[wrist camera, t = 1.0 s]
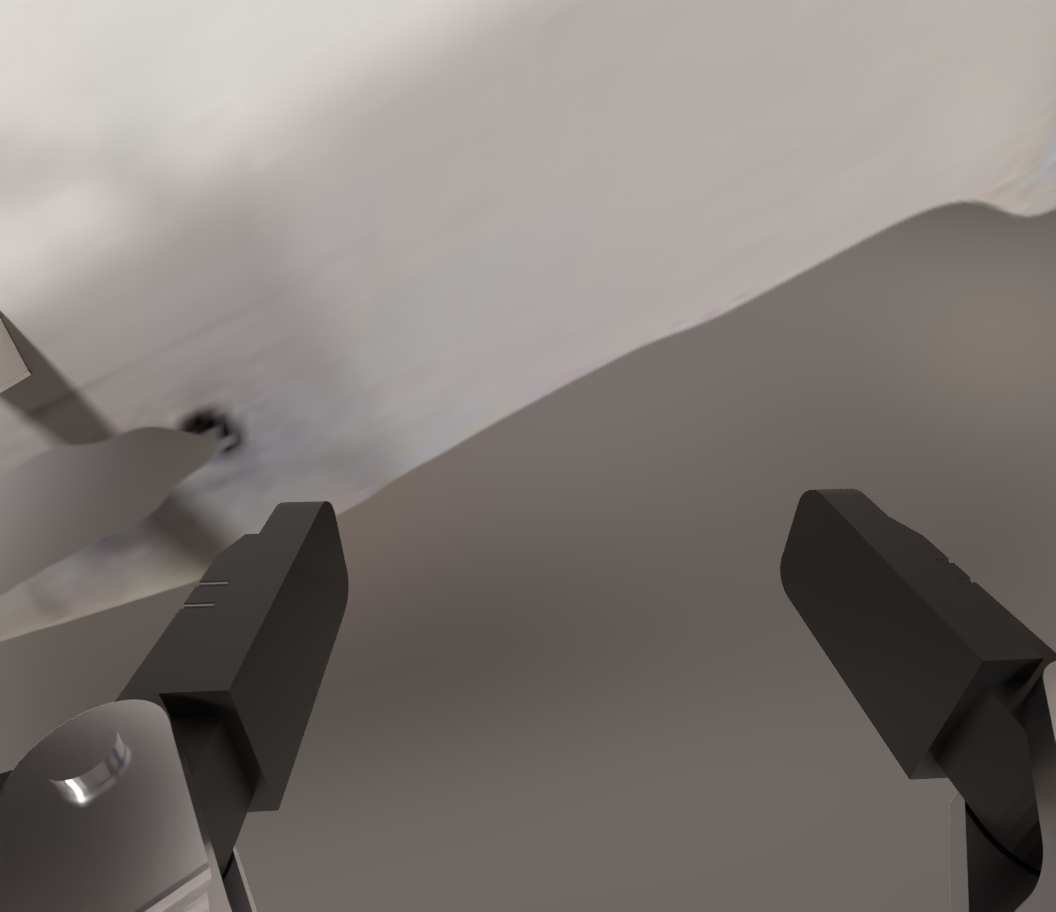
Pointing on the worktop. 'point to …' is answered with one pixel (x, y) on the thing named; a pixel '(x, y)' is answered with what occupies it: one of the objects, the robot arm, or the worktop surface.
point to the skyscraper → (10, 361)
